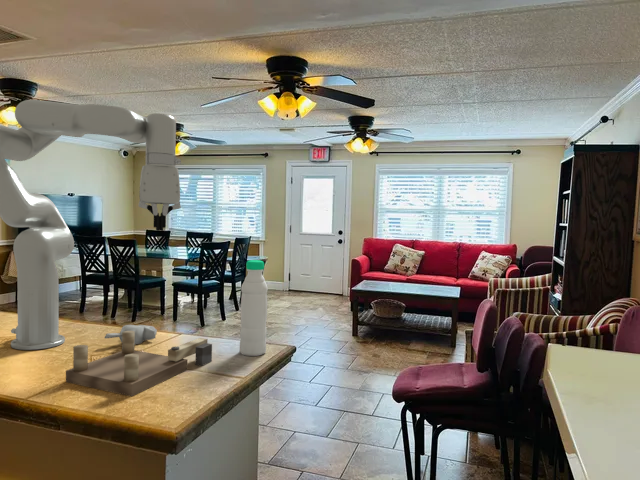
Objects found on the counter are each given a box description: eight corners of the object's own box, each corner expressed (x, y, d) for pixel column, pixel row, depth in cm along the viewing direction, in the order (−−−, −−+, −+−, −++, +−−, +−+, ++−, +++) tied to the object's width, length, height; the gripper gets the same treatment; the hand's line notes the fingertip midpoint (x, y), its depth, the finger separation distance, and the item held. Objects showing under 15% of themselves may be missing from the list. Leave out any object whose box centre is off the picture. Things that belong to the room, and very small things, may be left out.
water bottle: (261, 358, 123) (263, 262, 121) (235, 355, 124) (237, 261, 123) (269, 350, 130) (271, 260, 128) (245, 348, 131) (247, 258, 130)
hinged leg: (176, 361, 109) (176, 349, 109) (167, 359, 110) (168, 348, 110) (207, 348, 120) (207, 337, 120) (199, 347, 121) (199, 336, 121)
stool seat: (65, 381, 102) (66, 347, 101) (149, 350, 126) (150, 322, 125) (137, 397, 95) (137, 360, 94) (211, 361, 119) (212, 331, 118)
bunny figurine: (165, 324, 138) (130, 330, 124) (163, 342, 138) (128, 349, 124) (138, 321, 141) (101, 326, 127) (137, 338, 141) (99, 345, 127)
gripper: (187, 164, 132) (186, 230, 133) (129, 160, 126) (129, 229, 127) (191, 162, 125) (190, 231, 126) (130, 158, 119) (130, 230, 120)
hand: (159, 230), depth 127 cm, fingers closed
